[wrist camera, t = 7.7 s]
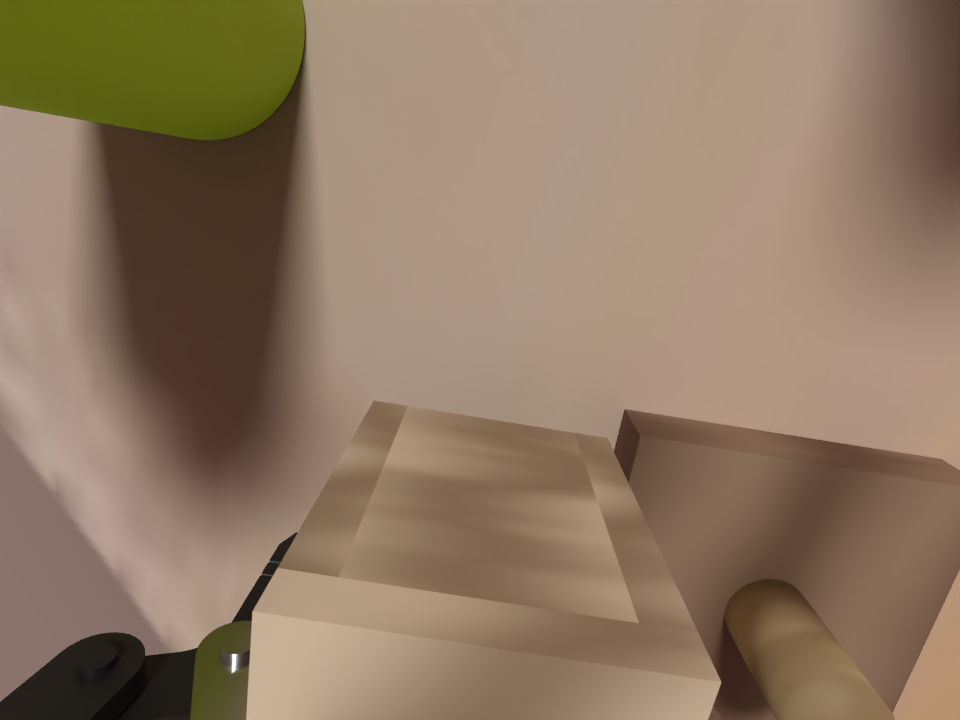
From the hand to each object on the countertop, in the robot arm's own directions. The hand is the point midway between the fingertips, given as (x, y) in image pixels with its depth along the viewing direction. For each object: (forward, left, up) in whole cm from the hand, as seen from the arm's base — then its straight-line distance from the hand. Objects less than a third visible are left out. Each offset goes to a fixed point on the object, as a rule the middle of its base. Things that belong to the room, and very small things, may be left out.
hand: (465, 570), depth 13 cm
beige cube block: (0, 0, -1) cm, 1 cm away
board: (-9, +9, -5) cm, 14 cm away
